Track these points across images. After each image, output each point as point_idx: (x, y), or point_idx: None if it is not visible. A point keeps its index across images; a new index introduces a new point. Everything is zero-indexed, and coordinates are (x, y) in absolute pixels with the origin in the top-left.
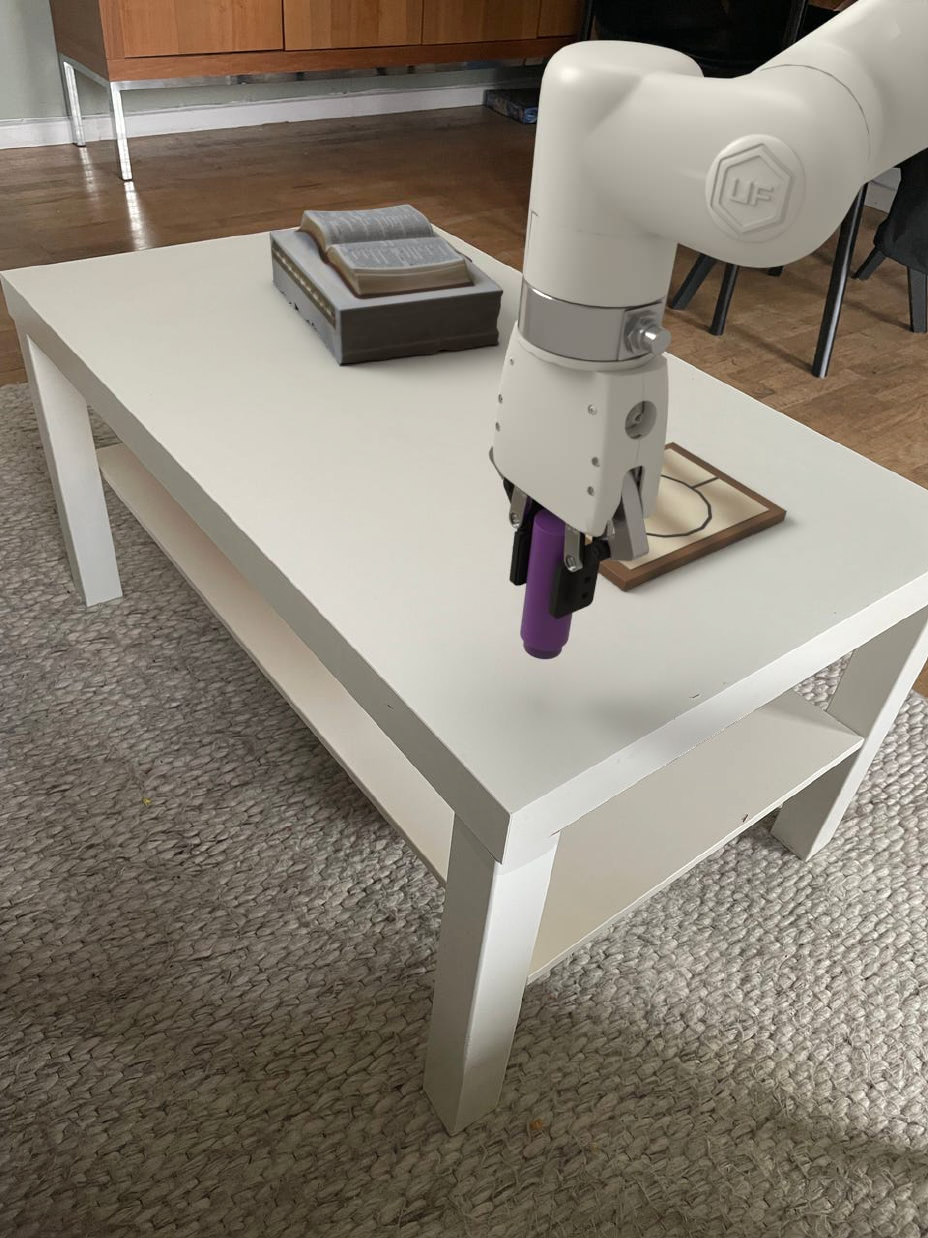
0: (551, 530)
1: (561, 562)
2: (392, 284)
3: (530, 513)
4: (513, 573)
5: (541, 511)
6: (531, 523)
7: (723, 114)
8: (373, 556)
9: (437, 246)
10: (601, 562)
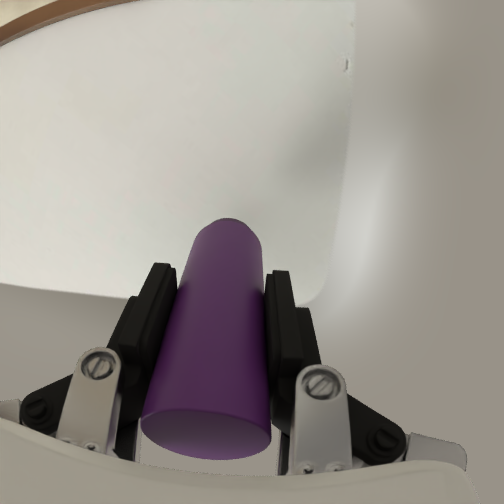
0: (226, 457)
1: (270, 413)
2: None
3: (128, 419)
4: None
5: (150, 437)
6: None
7: None
8: (5, 218)
9: None
10: (103, 2)
